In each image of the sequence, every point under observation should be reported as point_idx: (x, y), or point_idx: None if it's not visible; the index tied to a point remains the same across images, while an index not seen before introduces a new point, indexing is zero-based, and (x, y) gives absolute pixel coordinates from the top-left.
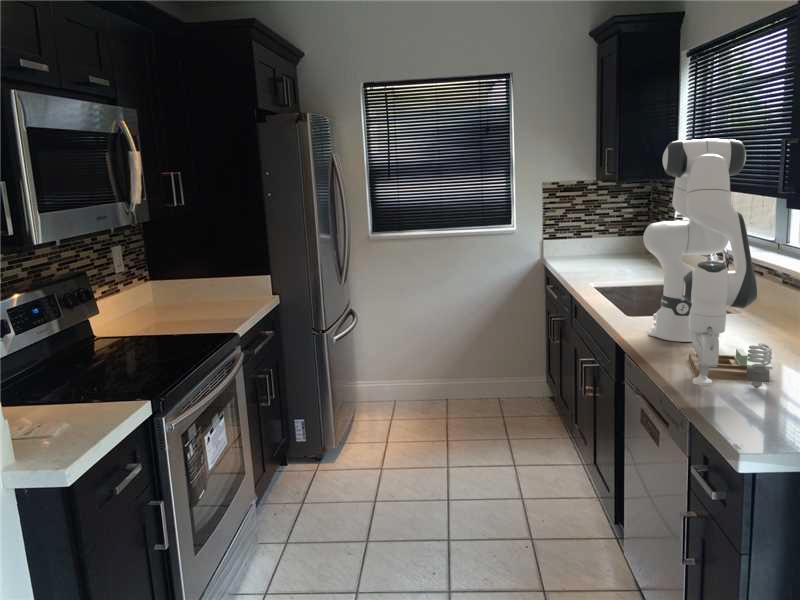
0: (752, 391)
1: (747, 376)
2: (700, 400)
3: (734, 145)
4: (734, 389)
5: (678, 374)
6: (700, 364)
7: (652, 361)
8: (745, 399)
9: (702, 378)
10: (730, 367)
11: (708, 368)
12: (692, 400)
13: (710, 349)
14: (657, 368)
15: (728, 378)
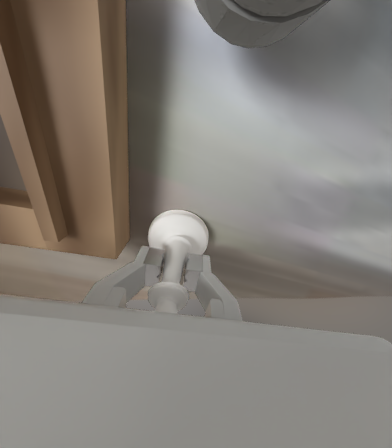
0: (293, 64)
1: (257, 43)
2: (319, 278)
3: None
4: (252, 150)
5: (108, 271)
6: (142, 284)
7: None
8: (368, 153)
9: (189, 251)
10: (27, 83)
11: (218, 280)
12: (313, 291)
13: (58, 342)
14: (70, 299)
15: (125, 126)
